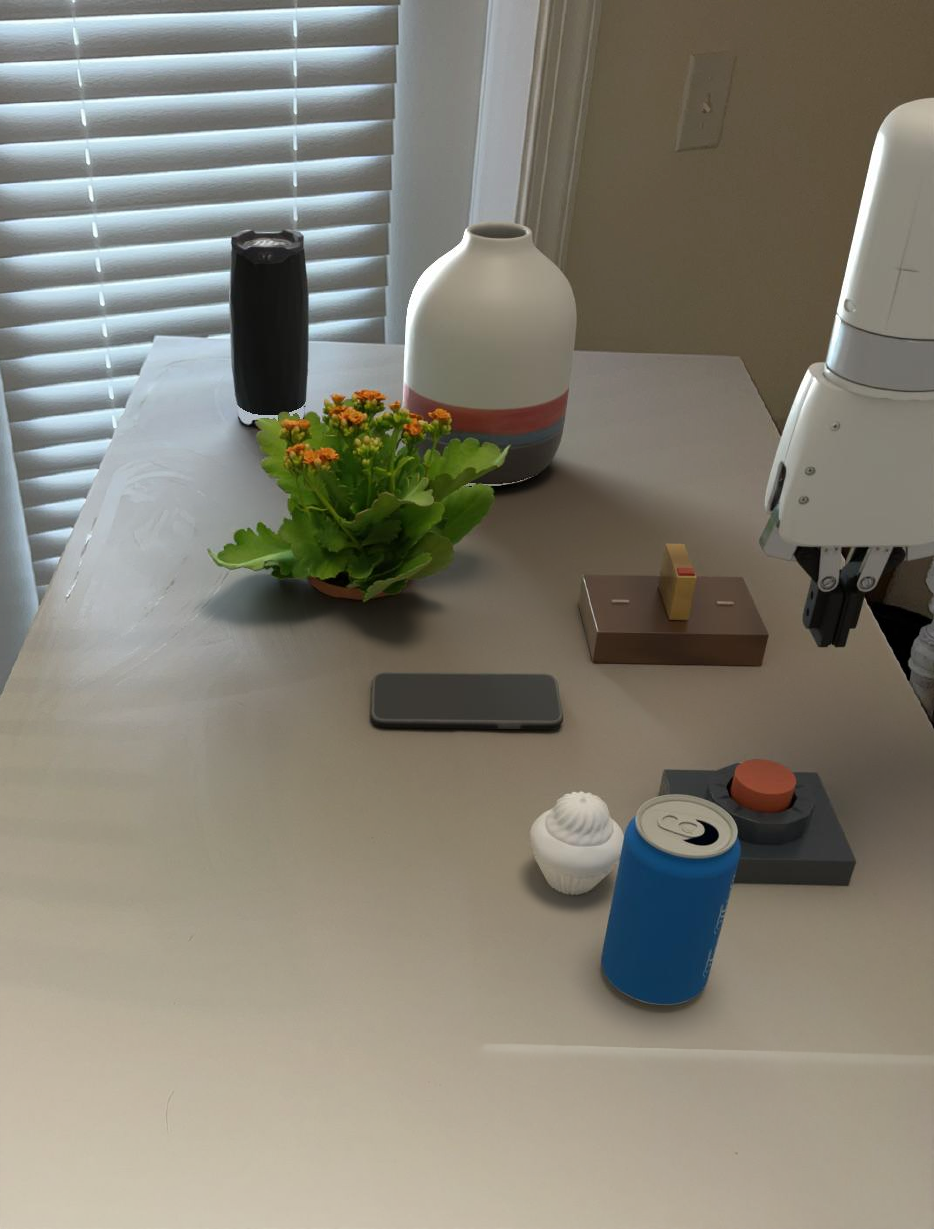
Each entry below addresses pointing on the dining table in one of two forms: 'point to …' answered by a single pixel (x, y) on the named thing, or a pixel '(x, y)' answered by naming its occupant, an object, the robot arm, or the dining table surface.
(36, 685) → the dining table surface
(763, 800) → the button
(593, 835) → the muffin
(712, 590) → the plate
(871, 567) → the robot arm
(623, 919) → the beverage can
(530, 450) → the vase
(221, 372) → the dining table surface
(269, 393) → the portable speaker
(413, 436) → the potted flower
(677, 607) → the yellow red-marked block
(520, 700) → the smartphone
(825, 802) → the button block
